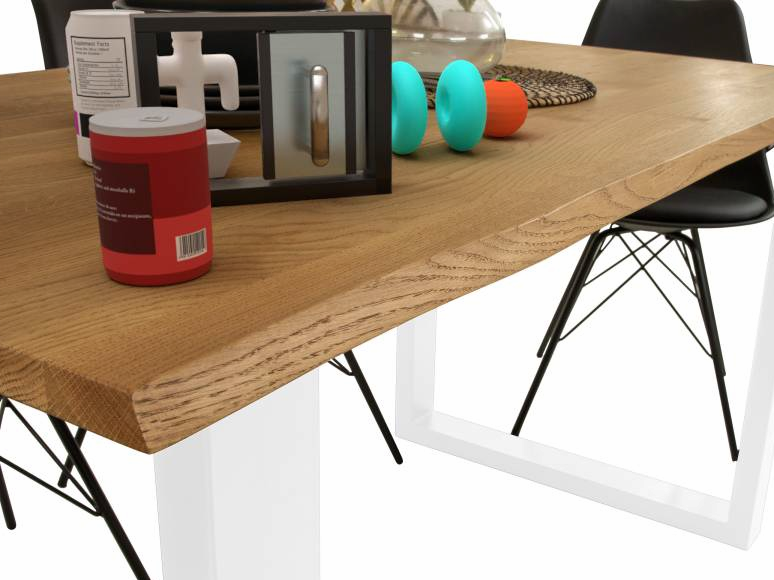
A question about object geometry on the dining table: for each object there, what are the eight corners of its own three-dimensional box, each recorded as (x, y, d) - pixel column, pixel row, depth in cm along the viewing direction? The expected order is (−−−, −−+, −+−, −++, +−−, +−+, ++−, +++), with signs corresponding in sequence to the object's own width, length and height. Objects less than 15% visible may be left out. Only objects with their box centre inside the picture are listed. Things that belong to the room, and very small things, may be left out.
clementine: (487, 127, 127) (489, 70, 125) (538, 133, 124) (541, 75, 122) (460, 138, 120) (461, 78, 118) (513, 144, 118) (516, 82, 115)
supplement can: (66, 159, 105) (50, 10, 100) (140, 149, 110) (128, 8, 105) (100, 173, 100) (85, 16, 94) (176, 162, 105) (165, 13, 100)
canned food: (218, 251, 77) (210, 106, 73) (209, 286, 69) (199, 126, 65) (114, 253, 76) (100, 106, 72) (93, 289, 68) (76, 127, 64)
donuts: (375, 145, 115) (375, 56, 112) (457, 141, 119) (459, 54, 115) (401, 163, 107) (402, 68, 103) (489, 158, 110) (492, 65, 106)
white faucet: (253, 177, 99) (246, 20, 94) (157, 187, 95) (144, 22, 90) (229, 163, 105) (221, 14, 100) (138, 171, 101) (125, 16, 96)
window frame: (150, 211, 87) (133, 17, 81) (145, 200, 90) (129, 13, 85) (391, 193, 95) (392, 14, 89) (378, 183, 98) (378, 11, 93)
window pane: (274, 191, 87) (268, 38, 82) (262, 178, 91) (256, 32, 87) (370, 184, 90) (369, 36, 85) (354, 172, 94) (352, 31, 90)
